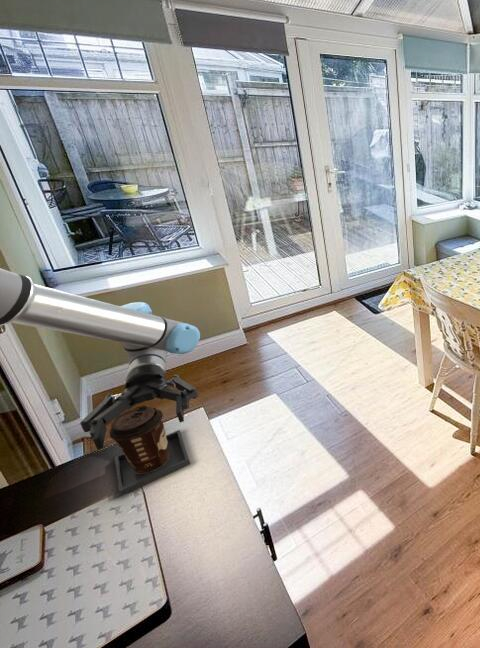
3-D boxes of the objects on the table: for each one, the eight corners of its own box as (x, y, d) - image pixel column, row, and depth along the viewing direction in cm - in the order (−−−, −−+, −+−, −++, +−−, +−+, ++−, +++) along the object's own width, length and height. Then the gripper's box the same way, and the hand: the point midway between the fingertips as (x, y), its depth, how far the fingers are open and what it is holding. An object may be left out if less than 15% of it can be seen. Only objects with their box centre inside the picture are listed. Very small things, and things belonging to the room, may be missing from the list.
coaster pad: (121, 497, 84) (118, 491, 83) (116, 462, 92) (114, 456, 91) (191, 465, 92) (188, 459, 91) (181, 435, 99) (179, 429, 98)
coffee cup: (167, 441, 97) (150, 397, 92) (184, 456, 93) (168, 412, 88) (120, 467, 90) (99, 421, 85) (137, 485, 86) (116, 438, 81)
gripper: (209, 372, 112) (214, 419, 97) (84, 408, 98) (66, 470, 83) (202, 349, 109) (206, 394, 94) (72, 383, 95) (51, 442, 80)
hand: (140, 430), depth 88 cm, fingers open, 13 cm apart
